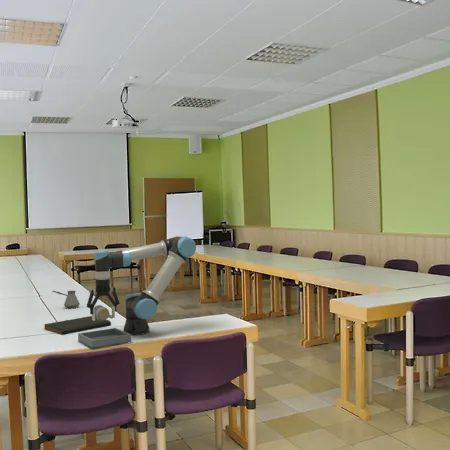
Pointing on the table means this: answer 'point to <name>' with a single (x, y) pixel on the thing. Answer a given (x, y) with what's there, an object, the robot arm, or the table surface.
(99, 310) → the ceramic mug
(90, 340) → the bin
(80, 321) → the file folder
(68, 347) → the table surface
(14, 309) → the table surface
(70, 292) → the coffee pot
